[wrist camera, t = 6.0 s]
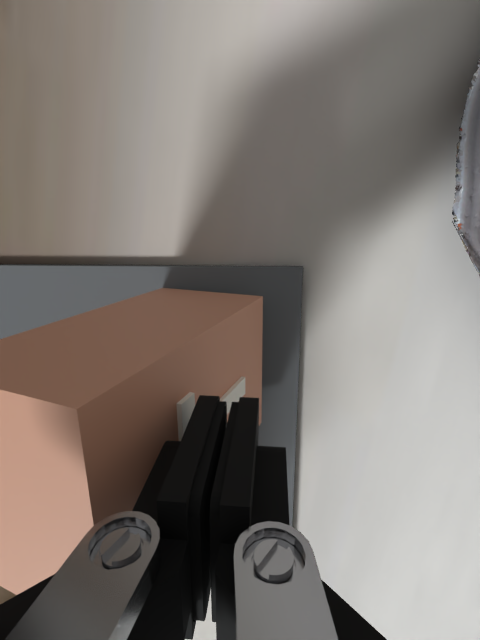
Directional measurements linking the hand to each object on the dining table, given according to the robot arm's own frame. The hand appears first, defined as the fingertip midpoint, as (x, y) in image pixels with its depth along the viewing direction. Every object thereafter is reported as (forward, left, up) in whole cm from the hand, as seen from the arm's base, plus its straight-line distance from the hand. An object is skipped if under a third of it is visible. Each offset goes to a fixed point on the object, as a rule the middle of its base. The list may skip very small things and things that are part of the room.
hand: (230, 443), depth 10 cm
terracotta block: (+2, 0, -7) cm, 7 cm away
